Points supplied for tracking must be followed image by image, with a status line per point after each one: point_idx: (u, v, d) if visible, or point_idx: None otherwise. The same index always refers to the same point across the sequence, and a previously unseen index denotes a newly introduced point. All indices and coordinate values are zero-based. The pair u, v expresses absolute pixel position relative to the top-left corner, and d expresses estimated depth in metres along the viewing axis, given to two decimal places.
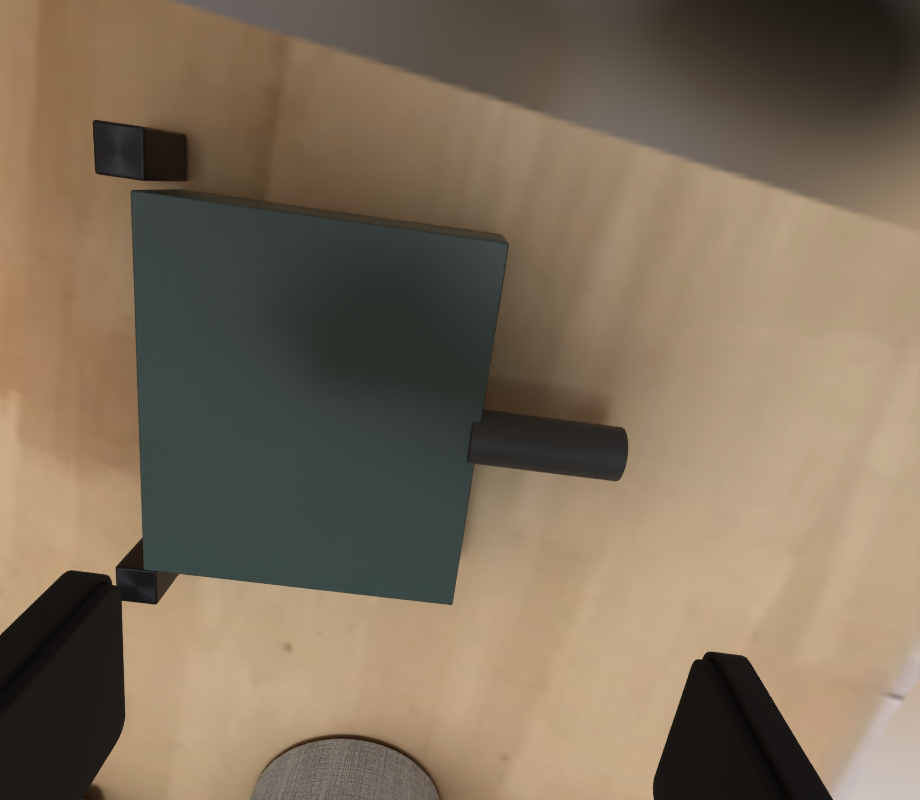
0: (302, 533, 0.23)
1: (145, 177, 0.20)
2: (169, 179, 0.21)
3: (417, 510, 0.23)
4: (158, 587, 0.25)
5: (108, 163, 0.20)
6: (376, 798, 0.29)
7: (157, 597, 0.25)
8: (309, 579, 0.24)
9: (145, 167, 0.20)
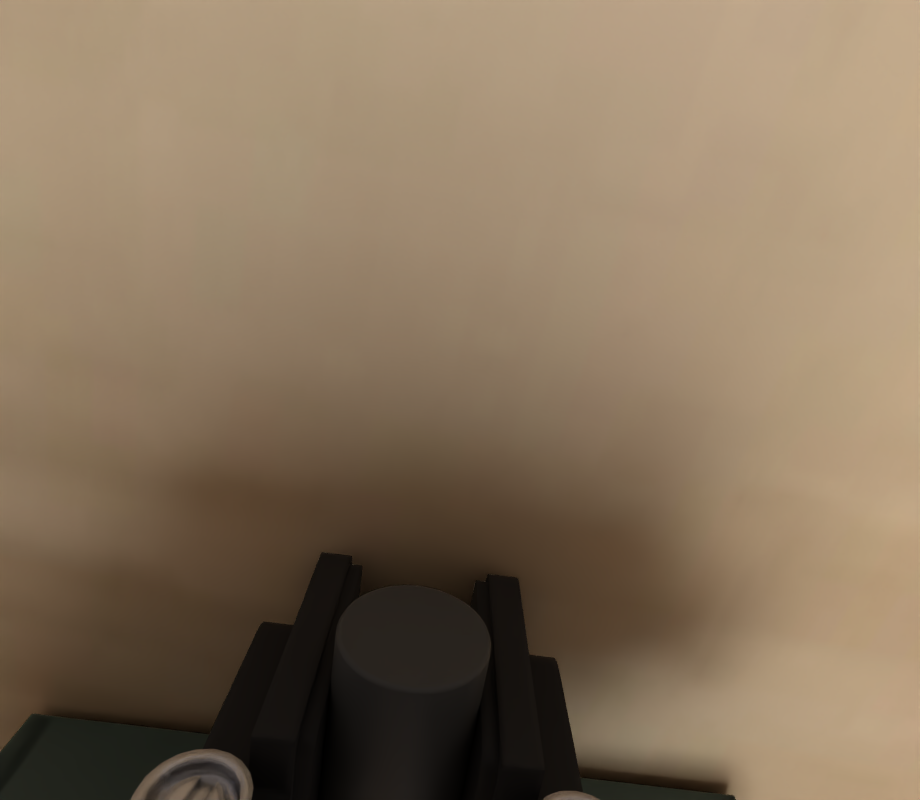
0: None
1: None
2: None
3: None
4: None
5: None
6: None
7: None
8: None
9: None
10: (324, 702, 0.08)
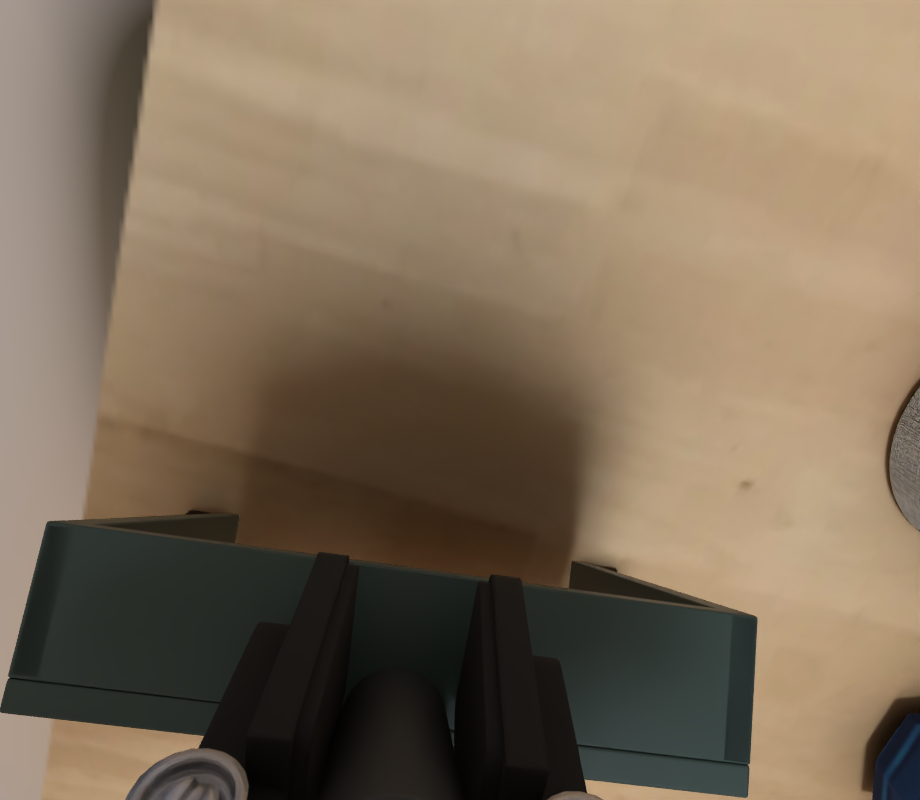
0: None
1: None
2: None
3: None
4: None
5: None
6: None
7: None
8: None
9: None
10: (320, 702, 0.08)
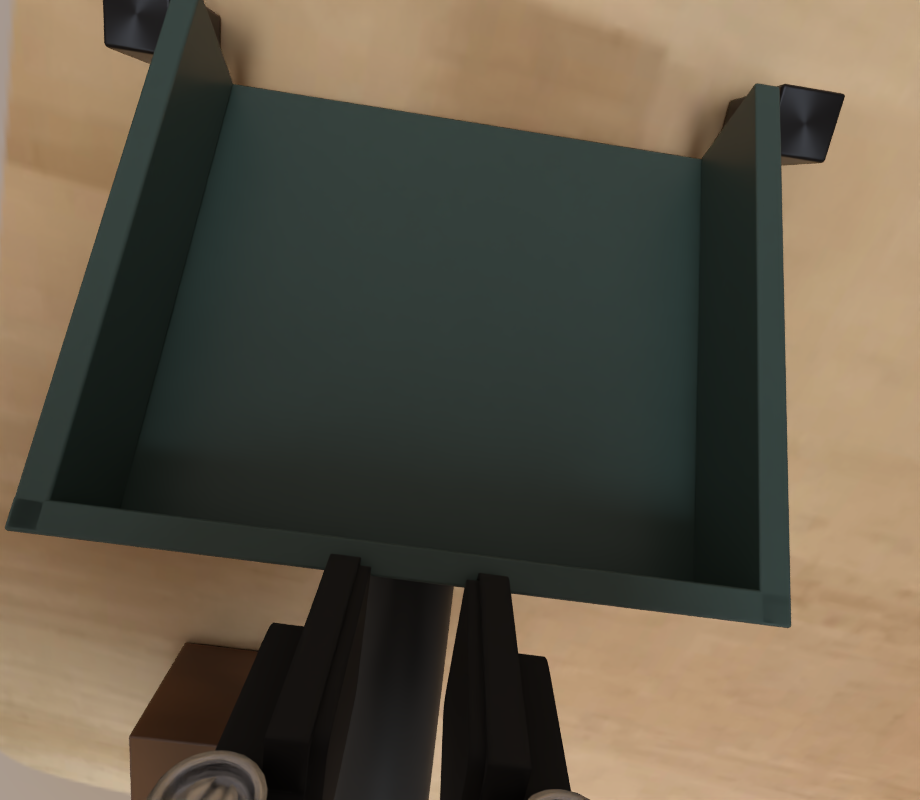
0: None
1: None
2: None
3: None
4: (814, 90, 0.15)
5: (154, 32, 0.15)
6: None
7: (832, 92, 0.15)
8: None
9: None
10: (336, 704, 0.08)
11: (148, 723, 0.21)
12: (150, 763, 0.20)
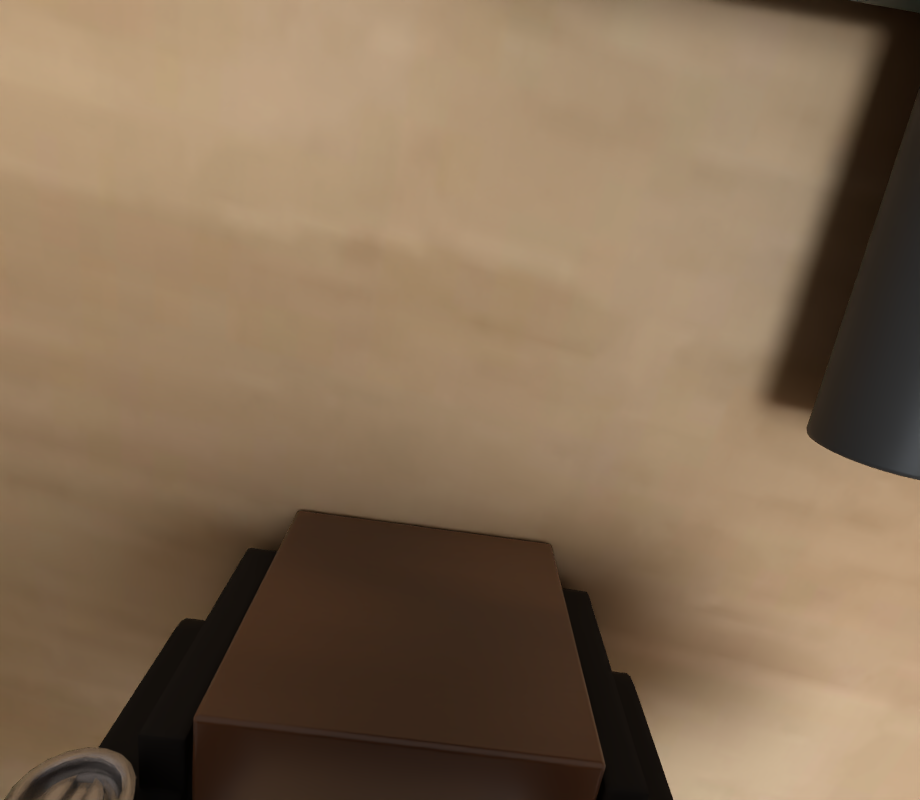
0: None
1: None
2: None
3: None
4: None
5: None
6: None
7: None
8: None
9: None
10: None
11: (245, 681, 0.07)
12: None
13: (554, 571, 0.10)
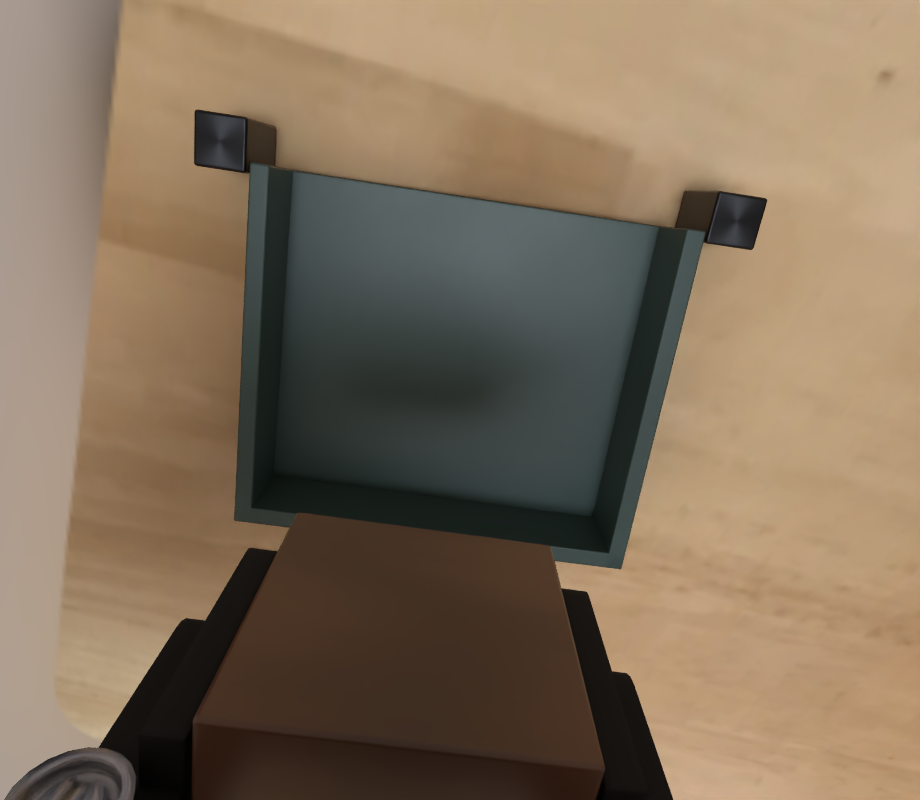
0: None
1: (244, 117, 0.19)
2: None
3: None
4: (744, 195, 0.20)
5: (233, 155, 0.19)
6: None
7: (757, 197, 0.20)
8: None
9: (234, 115, 0.19)
10: None
11: (245, 683, 0.07)
12: None
13: (554, 572, 0.10)
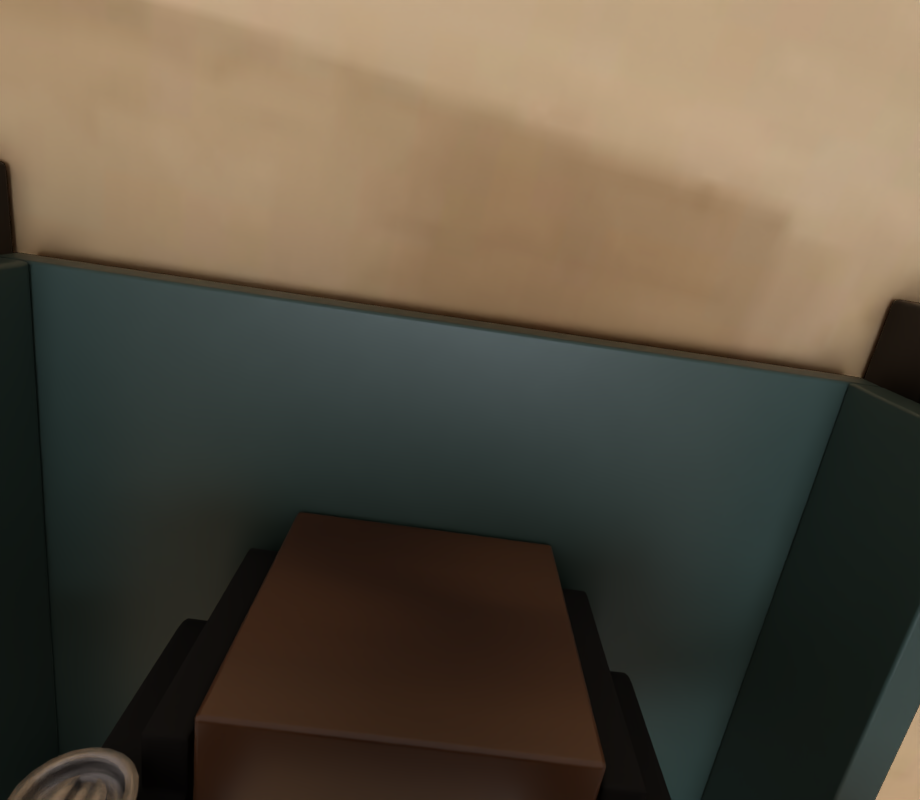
0: None
1: None
2: None
3: None
4: None
5: None
6: None
7: None
8: None
9: None
10: None
11: (246, 681, 0.07)
12: None
13: (554, 572, 0.10)
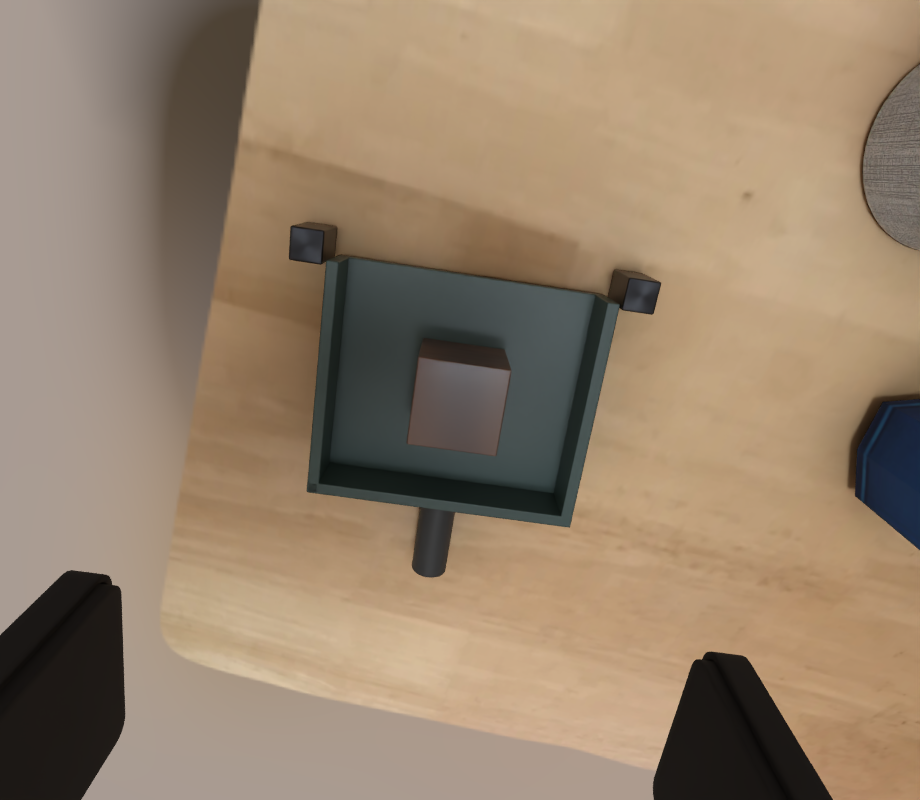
0: None
1: (322, 230, 0.29)
2: (330, 228, 0.31)
3: None
4: (646, 279, 0.30)
5: (314, 253, 0.30)
6: None
7: (654, 281, 0.30)
8: None
9: (316, 229, 0.29)
10: None
11: (426, 354, 0.29)
12: (429, 380, 0.29)
13: (504, 352, 0.32)
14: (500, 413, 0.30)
